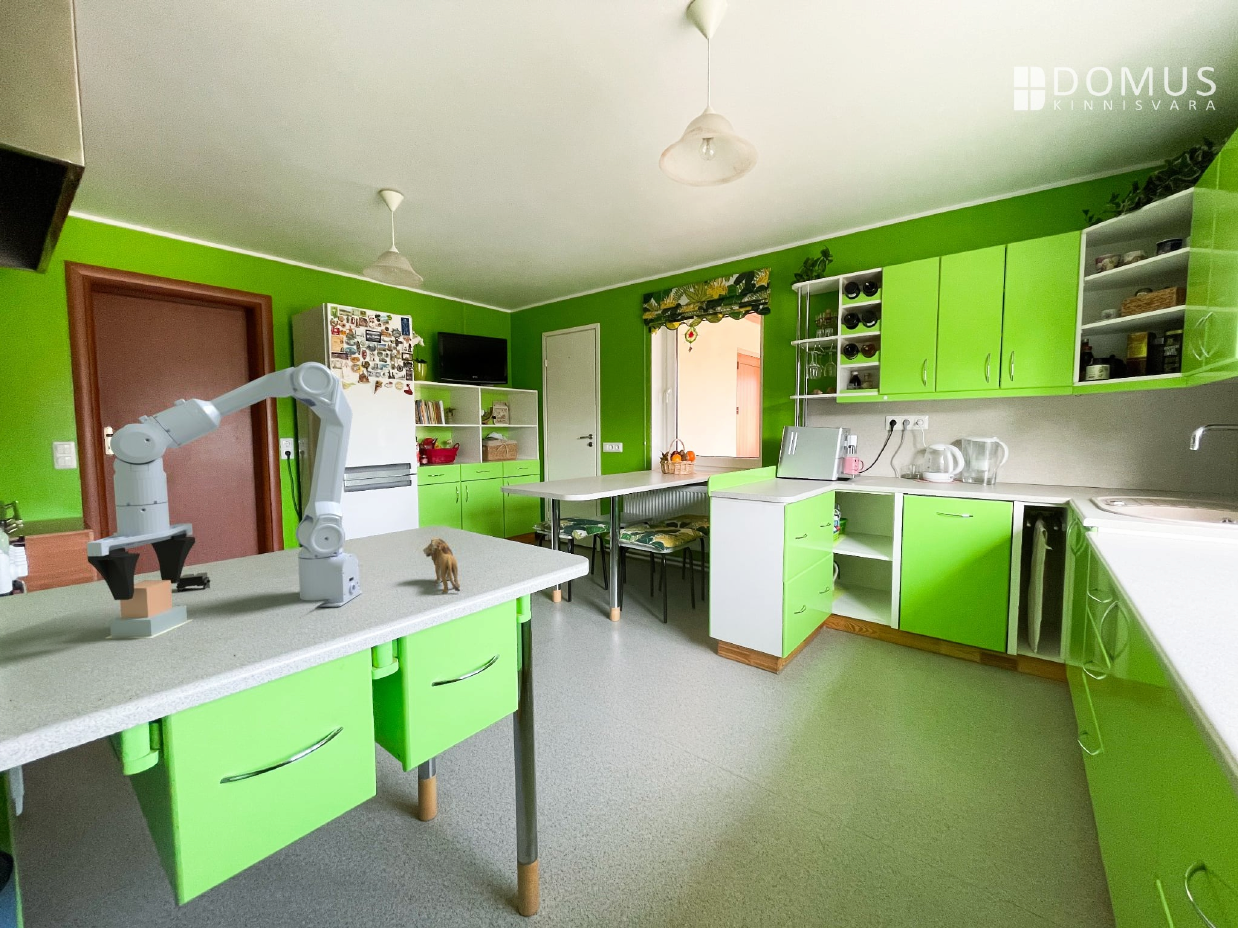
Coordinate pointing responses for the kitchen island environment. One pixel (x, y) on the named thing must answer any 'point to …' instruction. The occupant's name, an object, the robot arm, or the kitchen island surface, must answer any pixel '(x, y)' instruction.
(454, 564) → the lion figurine
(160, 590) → the top block
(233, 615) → the kitchen island surface
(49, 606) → the kitchen island surface
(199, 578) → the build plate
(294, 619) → the kitchen island surface
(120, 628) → the base block
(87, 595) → the kitchen island surface
